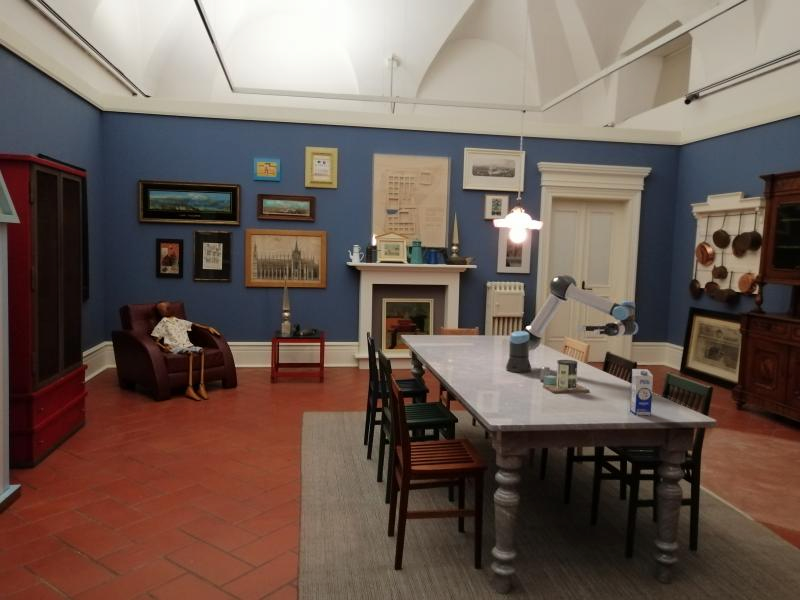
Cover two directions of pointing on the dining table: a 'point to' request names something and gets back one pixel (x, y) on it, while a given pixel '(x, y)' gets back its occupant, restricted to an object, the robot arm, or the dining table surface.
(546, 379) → the teal cube
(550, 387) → the walnut board
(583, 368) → the dining table surface
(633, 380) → the milk carton
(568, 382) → the coffee can
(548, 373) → the metal cylinder
